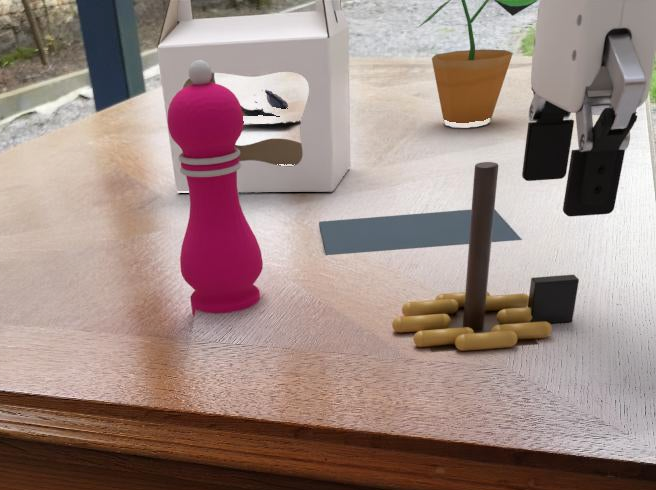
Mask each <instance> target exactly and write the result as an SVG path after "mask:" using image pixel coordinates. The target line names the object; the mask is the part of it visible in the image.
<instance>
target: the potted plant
mask: <svg viewBox="0 0 656 490" xmlns="http://www.w3.org/2000/svg"><path fill="white" fill-rule="evenodd" d="M460 1H461V5H462V8H463V11H464V15H465V18H466V22H467V23H466V24H467V31H468V32H467V33H468V39H469V49H468V50H455V51H449V52H443V53H438V54H435V55H433V56H432V57H431V62H432V68H433V73H434V78H435V83H436V88H437V93H438V100H439V105H440V109H441V115H442V120H443V119H444V120H447V121H449V122H456V123H469V122H475V121H484V120H486V119H488V118H491V117H492V118H493V115H494V112H495V109H496V105H497V103H498V100H499V97H500V94H501V91H502V87H503V85H504V81H505V79H506V75H507V72H508V69H509V66H510V63H511V60H512V58H513V54H514V53H513V52H511V51H509V50H506V49H485V48H484V49H483V48H481V49H476V44H475V38H474V32H473V26H472V24H473V22H474V21H475V20H476V18H477V17H478V16H479V14H480V13H481V12H482V11H483V9H484V8H485V6H486V5H487V4H488V3H489V1H490V0H485V1H484V2H483V3H482V4H481V5H480V7H479V8H478V9H477V11H476V12H475V13H474V15H472V17H471V16H470V13H469V10H468V6H467V2H466V0H460ZM493 1H494V2H496V4H498V5H499V7H501V8H503V9H504V11H506V12H507V13H508V14H510V15H511V16H512V17H514V16H515V15H517V14H518V13H520V12H522V11H523V10H525V9H526V8H529V7H530V6H532V5H533V4H536V3H537V2H538V0H493ZM450 2H451V0H447V1H446V2H445V3H442V4H441V5H440V6H439V7H437V9H436V10H434V12H433V13H432V14H430V15H429V16H428V17H427V18H426V19H425V20H424V21H423V22H421V24H420V25H419V26H418V28H420V27H422V26H423V25H425V24H426V23H427V22H429V21H430V20H431V19H433V18H434V17H435V16H436V15H437V14H438V13H439V12H440V11H441V10H442V9H443V8H444V7H446V5H447V4H448V3H450ZM492 118H491V119H492ZM444 120H443V121H444Z"/></svg>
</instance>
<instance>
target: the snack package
mask: <svg viewBox="0 0 656 490" xmlns="http://www.w3.org/2000/svg"><path fill="white" fill-rule="evenodd" d="M261 91H262V92H263V91H264V92H265V94H266V100H267V103H268V105H270V107H271V108H272V107H276V108H281V109H286V108H287V107H289V104H288V103H287V101H286V100H284V99H283V98H282V97H281V96H279V95H278V94H277V93H273V91H271V90H268V89H265V90H262V89H261ZM253 96H256V94H254V95H253ZM254 103H255V104H258V101H254ZM241 109H242V113H243V116H258V115H263V116H276V115H274V114H272V112H265V111H264V108H261V109H260V108H257V107H256V108H255V109H248V108H245V107H243V106H242V105H241ZM287 109H288V108H287ZM276 117H280V116H276Z"/></svg>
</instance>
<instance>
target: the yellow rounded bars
mask: <svg viewBox="0 0 656 490" xmlns="http://www.w3.org/2000/svg"><path fill="white" fill-rule="evenodd" d="M579 283H580V280H579V277H577V276H576V275H575V274H563V275H550V276H536V277H531V278H530V285H529V292H528V293H529V294H527V293H510V294H496V295H491V294H490V292H488V291H487V295H486V306H485V311H498V310H500V311H499V312H498V314H497V321H498V322H499V323H500V324H502V325H496V326H494V327H493V328H492V329H491V331H490V332H486V333H474V331H473V330H472V329H471V328H469V327H463V328H450V329H446V328H448V327H449V326H450V324H451V319H450V317H449V316H448V315H447V314H453V313H455V312H456V311H457V310H458V308H464V303H465V291H463V292H451V293H450V292H449V293H440V294H438V295H437V296H435V299H432V300H431V299H430V300H418V301H408V302H405V303H404V304H402V307H401V313H402V314H403V316H397V317H396V318H394V319H393V321H392V323H391V327H392V329H393V331H394V332H396V333H398V334H399V333H401V334H402V333H413V332H414V335H413V339H412V340H413V343H414V345H415V346H417V347H418V348H423V347H424V348H425V347H429V346H439V345H453V344H455V346H456V348H457V349H459V350H458V351H463V352H465V351H475V350H477V351H478V350H491V349H492V350H493V349H502V348H503V349H504V348H512V347H515V346H514V345H515V344H516V343H517V340H519V339H533V338H535V339H543V338H545V339H546V338H547V337H549V336H550V335H551V334H552V331H553V326H552V324H559V323H572V322H573V320H574V318H573V317H574V313H575V306H576V300H577V299H576V298H577V294H578V288H579ZM415 332H416V333H415Z"/></svg>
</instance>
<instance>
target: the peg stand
mask: <svg viewBox="0 0 656 490" xmlns="http://www.w3.org/2000/svg"><path fill="white" fill-rule="evenodd" d="M498 175H499V164H498V163H497V162H494V161H482V162H478V163H476V164H475V165H474V173H473V187H472V199H471V209H472V211H471V224H470V237H469V244H468V251H467V265H466V279H465V291H464V292H465V303H464V307H461V308H458V310H457V311H456V312H455V313H453V314H447V315H448V316H449V317H450V319H451V324H450V326H449V327H448V328H446V329H450V328H463V327H469V328H471V329H472V330H473V331H474V333H486V332H490V331H491V329H492V328H493V327H494V326H496V325H502V324H500V323H499V322H498V321H497V314H498V312H499V311H500V310H498V311H485V306H486V295H487V292H488V284H489V273H490V263H491V262H490V261H491V252H492V242H491V241H492V230H493V219H494V209H495V207H496V198H497V197H496V196H497V187H498V177H499V176H498ZM533 345H534V346H535V345H539V342H538V341H537V339H536V338H533V339H519V340H517V343H516V344H515V345H514V346H513V347H516V346H517V347H520V346H533ZM428 347H429V349H430V352H431V353H438V352H453V351H460V350H459V349H457V348H456V346H455V344H453V345H439V346H428Z"/></svg>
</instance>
